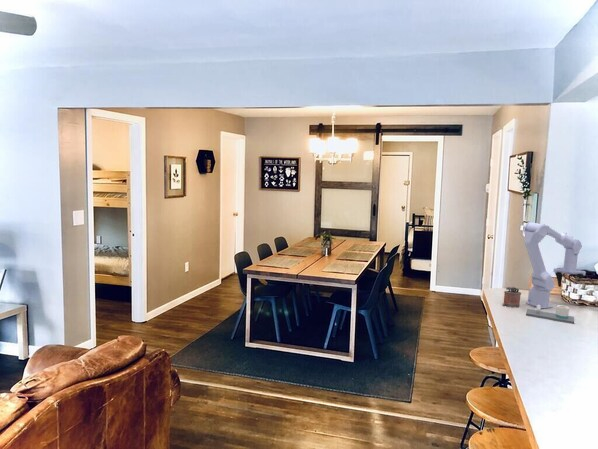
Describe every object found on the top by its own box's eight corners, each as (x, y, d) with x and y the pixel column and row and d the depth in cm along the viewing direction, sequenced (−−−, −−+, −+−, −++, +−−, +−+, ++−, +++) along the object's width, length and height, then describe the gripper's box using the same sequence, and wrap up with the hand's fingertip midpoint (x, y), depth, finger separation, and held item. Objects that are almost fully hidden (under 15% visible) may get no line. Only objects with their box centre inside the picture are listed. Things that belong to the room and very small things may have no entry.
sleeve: (553, 315, 221) (554, 305, 220) (560, 315, 223) (561, 304, 222) (562, 319, 217) (564, 308, 216) (570, 318, 218) (571, 307, 218)
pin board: (525, 315, 223) (526, 305, 223) (527, 310, 231) (528, 301, 230) (574, 323, 213) (575, 313, 213) (573, 318, 221) (575, 308, 221)
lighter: (518, 305, 239) (520, 286, 238) (520, 307, 236) (522, 288, 235) (501, 304, 240) (503, 285, 239) (504, 306, 237) (506, 287, 235)
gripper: (557, 261, 240) (554, 287, 242) (588, 264, 237) (585, 290, 238) (553, 259, 247) (550, 284, 249) (584, 261, 244) (580, 287, 245)
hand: (567, 287), depth 244 cm, fingers open, 7 cm apart
